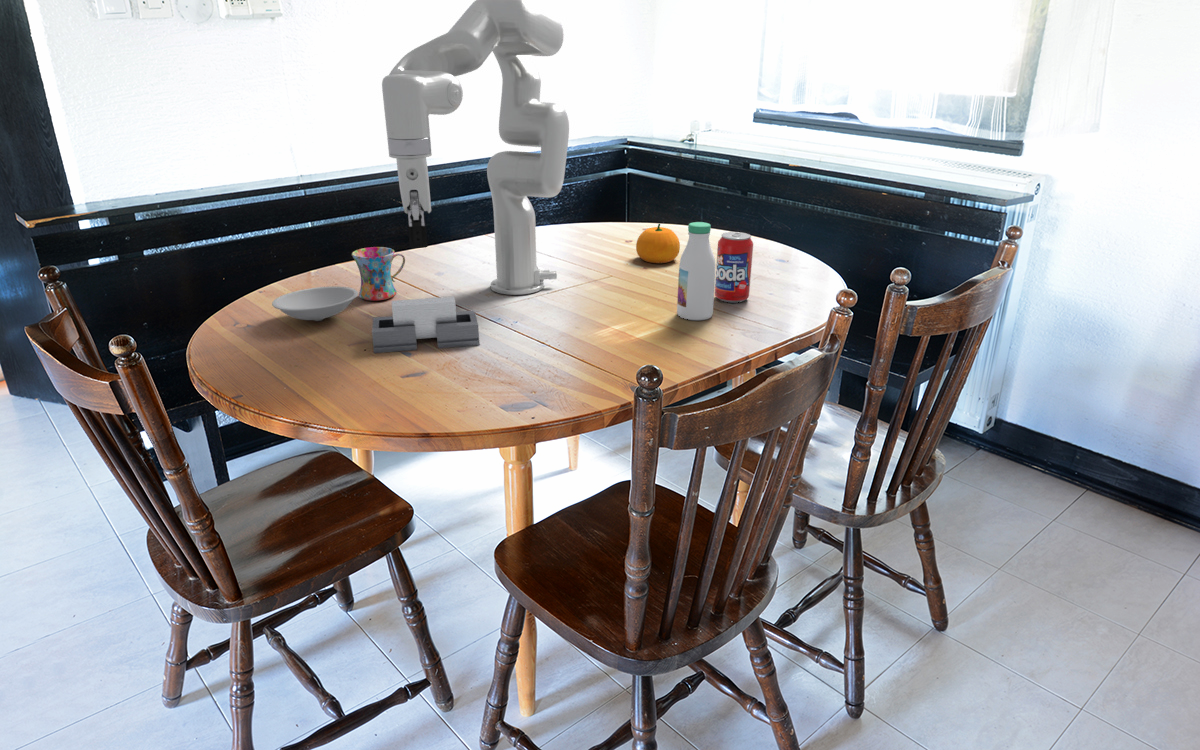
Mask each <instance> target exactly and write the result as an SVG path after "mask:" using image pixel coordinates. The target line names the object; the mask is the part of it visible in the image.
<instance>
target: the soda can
mask: <svg viewBox="0 0 1200 750" xmlns="http://www.w3.org/2000/svg"><path fill="white" fill-rule="evenodd" d="M720 235H721V237H720V238H719V240H718V241H717V250H716V251H717V253H716V263H715V286H714V298H717V299H718V300H719V301H721V302H723V301H724V302H723V303H727V302H728V303H729V304H738V302H739V303H742V302H744V301H746V300H747V299H748V298H749V296H750V290H751V278H752V266H753V253H754V241H753V240H752V239H751V238H752V235H751V234H750V233H748V232H747V233H746V232H741V231H740V232H739V231H728V232H723V233H721V234H720ZM728 303H727V304H728Z"/></svg>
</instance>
